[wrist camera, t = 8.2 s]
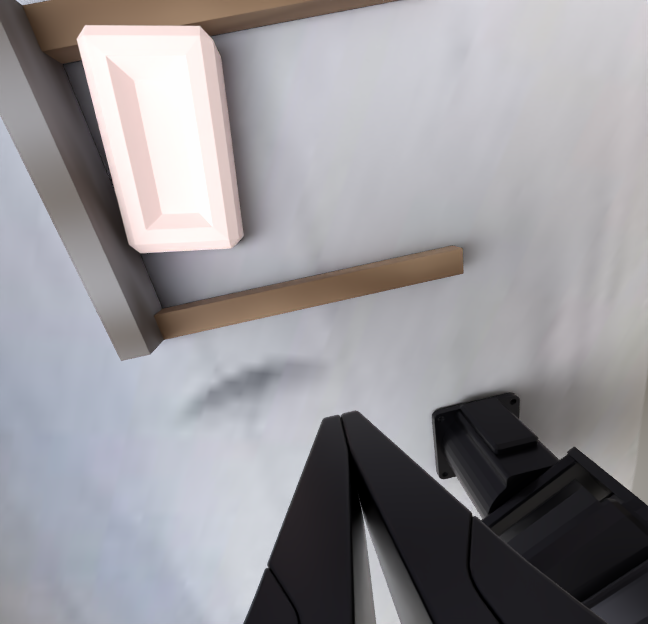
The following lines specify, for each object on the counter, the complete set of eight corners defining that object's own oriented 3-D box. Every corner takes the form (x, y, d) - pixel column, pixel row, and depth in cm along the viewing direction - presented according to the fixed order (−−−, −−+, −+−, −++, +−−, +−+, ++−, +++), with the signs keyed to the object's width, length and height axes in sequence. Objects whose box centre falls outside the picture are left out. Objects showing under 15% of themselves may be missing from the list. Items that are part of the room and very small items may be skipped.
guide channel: (453, 269, 19) (481, 280, 16) (147, 337, 18) (121, 361, 16) (438, -50, 14) (476, -116, 11) (10, 28, 13) (-66, -20, 10)
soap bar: (149, 248, 17) (127, 254, 15) (103, 50, 14) (66, 19, 12) (245, 243, 18) (239, 248, 15) (221, 50, 15) (208, 21, 12)
